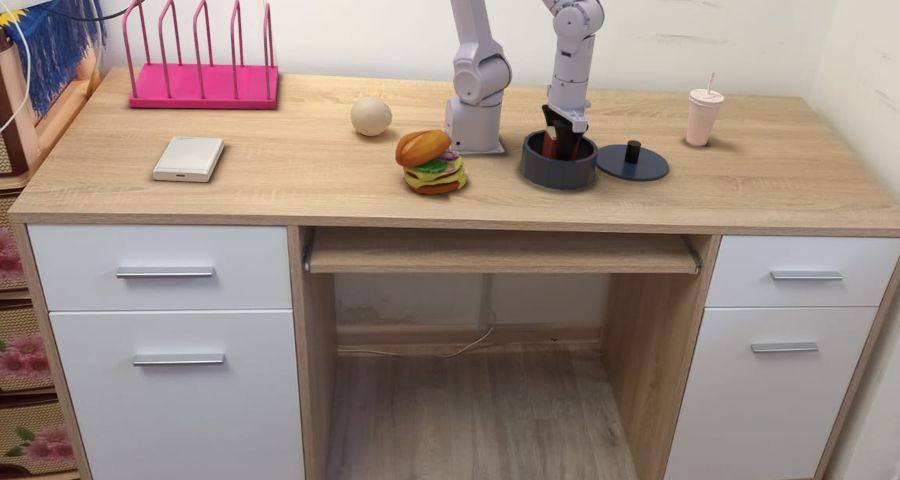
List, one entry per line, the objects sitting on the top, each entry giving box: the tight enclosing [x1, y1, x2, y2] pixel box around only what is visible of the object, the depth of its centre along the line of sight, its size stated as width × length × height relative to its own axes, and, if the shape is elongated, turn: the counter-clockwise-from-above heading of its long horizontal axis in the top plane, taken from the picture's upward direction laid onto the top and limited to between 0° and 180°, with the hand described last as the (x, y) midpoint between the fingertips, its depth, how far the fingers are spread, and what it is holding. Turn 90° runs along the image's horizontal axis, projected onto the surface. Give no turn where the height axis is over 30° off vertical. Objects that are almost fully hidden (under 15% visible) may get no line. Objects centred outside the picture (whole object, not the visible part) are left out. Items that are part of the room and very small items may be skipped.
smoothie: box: [685, 70, 725, 146], centre depth 153 cm, size 6×6×14 cm
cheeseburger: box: [394, 128, 467, 195], centre depth 132 cm, size 10×11×10 cm
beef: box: [542, 125, 579, 161], centre depth 138 cm, size 5×4×6 cm
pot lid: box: [595, 139, 669, 182], centre depth 145 cm, size 13×13×4 cm
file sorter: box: [121, 0, 279, 110], centre depth 152 cm, size 17×25×16 cm
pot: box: [519, 129, 599, 191], centre depth 139 cm, size 12×12×6 cm
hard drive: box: [152, 135, 225, 183], centre depth 132 cm, size 2×8×12 cm
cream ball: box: [350, 95, 393, 137], centre depth 146 cm, size 7×7×7 cm
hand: (559, 153), depth 139 cm, fingers closed on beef, 4 cm apart
